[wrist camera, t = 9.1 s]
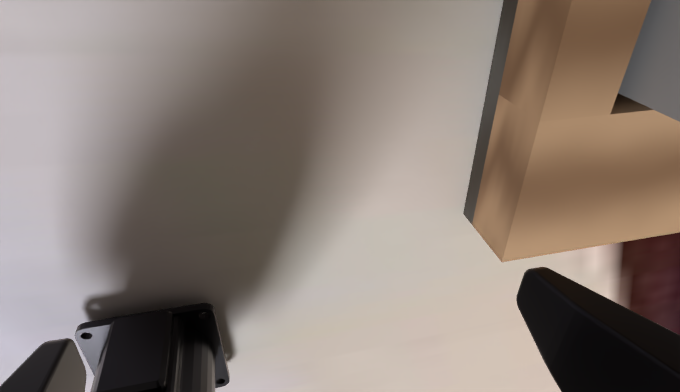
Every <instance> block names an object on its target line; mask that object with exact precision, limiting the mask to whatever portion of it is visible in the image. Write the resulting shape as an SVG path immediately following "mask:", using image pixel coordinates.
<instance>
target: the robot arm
mask: <svg viewBox="0 0 680 392" xmlns="http://www.w3.org/2000/svg"><path fill="white" fill-rule="evenodd" d="M517 305H518V308H519V310H520V312H521V314H522V316H523V318H524V320H525V322H526V325H527V327H528V329H529V331H530V333H531V335H532V337H533V339H534V341H535V343H536V345H537V347H538V349H539V351H540V354H541V356H542V358H543V360H544V362H545V364H546V366H547V367H548V369H549V371H550V373H551V375H552V376H553V378H554V380H555V382H556V383H557V385H558V387H559V388H560V390H561V391H562V392H680V335H678V334H676V333H674V332H672V331H670V330H668V329H666V328H664V327H662V326H661V325H659V324H657V323H655V322H653V321H651V320H649V319H647V318H645V317H643V316H641V315H639V314H637V313H635V312H633V311H631V310H629V309H627V308H625V307H623V306H621V305H619V304H617V303H615V302H613V301H611V300H609V299H607V298H606V297H604V296H602V295H600V294H598V293H596V292H594V291H592V290H590V289H588V288H586V287H584V286H582V285H580V284H578V283H576V282H574V281H572V280H570V279H568V278H566V277H564V276H562V275H560V274H558V273H556V272H554V271H553V270H551V269H548V268H546V267H539V268H533V269H528V270H527V271H526V272H525V273H524V276H523V279H522V282H521V285H520V288H519V291H518V294H517ZM203 312H206V313H205V314H202V313H203ZM86 332H88V333H86ZM75 338H76V340H77V342H78V344H79V346H80V348H81V350H82V352H83V354H84V356H85V358H86V360H87V362H88V364H89V366H90V368H91V370H92V372H93V374H94V376H95V377H94V381H93V384H92V388H91V392H215V388H217V387H222V386H225V385H227V384H228V383H229V370H228V366H227V362H226V357H225V353H224V348H223V344H222V340H221V335H220V331H219V326H218V322H217V318H216V313H215V309H214V307H213V306H212V305H211V304H208V303H201V304H195V305H189V306H183V307H177V308H171V309H165V310H159V311H152V312H146V313H140V314H134V315H128V316H122V317H116V318H110V319H104V320H98V321H92V322H86V323H82V324H80V325H79V326H78V328H77V330H76V333H75ZM85 385H86V370H85V366H84V364H83V361H82V359H81V357H80V354H79V352H78V350H77V347H76V345H75V343H74V341H73V340H72V339H68V338H66V339H59V340H52V341H47V342H45V343H43V344H42V345H40V346H39V347H38V348H37V349H36V350H35V351H34V352H33V353H32V354H31V355H30V356H29V357H28V358H27V360H26V361H25V362H24V363H23V364H22V365H21V366H20V367H19V368H18V369H17V370H16V371H15V372H14V373H13V374H12V375H11V376H10V377H9V378H8V379H7V380H6V381H5V382H4V383H3V384H2V385H1V386H0V392H85Z"/></svg>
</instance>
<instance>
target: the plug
mask: <svg viewBox="0 0 680 392" xmlns="http://www.w3.org/2000/svg"><path fill="white" fill-rule="evenodd" d="M618 93H619V94H621V95H623V96H625V97H628V98H630V99H632V100H634V101H636V102H638V103H640V104H643V105H645V106H647V107H649V108H651V109H653V110H655V111H657V112H660V113H662V114H664V115H666V116H668V117H670V118H672V119H675V120H677V121H679V122H680V0H651V2H650V5H649V8H648V11H647V14H646V16H645V19H644V22H643V25H642V27H641V30H640V33H639V36H638V39H637V41H636V44H635V47H634V50H633V52H632V55H631V58H630V61H629V64H628V66H627V69H626V72H625V75H624V77H623V80H622V83H621V86H620V89H619V91H618Z"/></svg>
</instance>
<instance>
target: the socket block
mask: <svg viewBox="0 0 680 392" xmlns="http://www.w3.org/2000/svg"><path fill="white" fill-rule="evenodd" d="M650 2H651V0H504V3H503V8H502V13H501V19H500V24H499V29H498V34H497V40H496V45H495V50H494V56H493V61H492V66H491V71H490V77H489V82H488V87H487V93H486V98H485V103H484V108H483V114H482V119H481V124H480V130H479V135H478V140H477V145H476V151H475V156H474V161H473V166H472V172H471V177H470V182H469V188H468V193H467V198H466V203H465V209H464V215H465V216H466V218H467V219H468V220H469V221H470V223H471V224H472V225H473V226H474V228H475V229H476V230H477V231H478V233H479V234H480V235H481V237H482V238H483V239H484V240H485V242H486V243H487V244H488V245H489V247H490V248H491V249H492V250H493V252H494V253H495V254H496V255H497V257H498V258H499V259H500V260H501V262H505V261H511V260H517V259H523V258H529V257H535V256H541V255H547V254H553V253H559V252H565V251H571V250H577V249H583V248H589V247H595V246H601V245H607V244H612V243H618V242H624V241H630V240H636V239H642V238H648V237H654V236H660V235H666V234H672V233H678V232H680V122H679V121H677V120H675V119H672V118H670V117H668V116H666V115H664V114H662V113H660V112H657V111H655V110H653V109H651V108H649V107H647V106H645V105H643V104H640V103H638V102H636V101H634V100H632V99H630V98H628V97H625V96H623V95H621V94H619V93H618V91H619V89H620V86H621V83H622V80H623V77H624V75H625V72H626V69H627V66H628V64H629V61H630V58H631V55H632V52H633V50H634V47H635V44H636V41H637V39H638V36H639V33H640V30H641V27H642V25H643V22H644V19H645V16H646V14H647V11H648V8H649V5H650Z"/></svg>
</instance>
